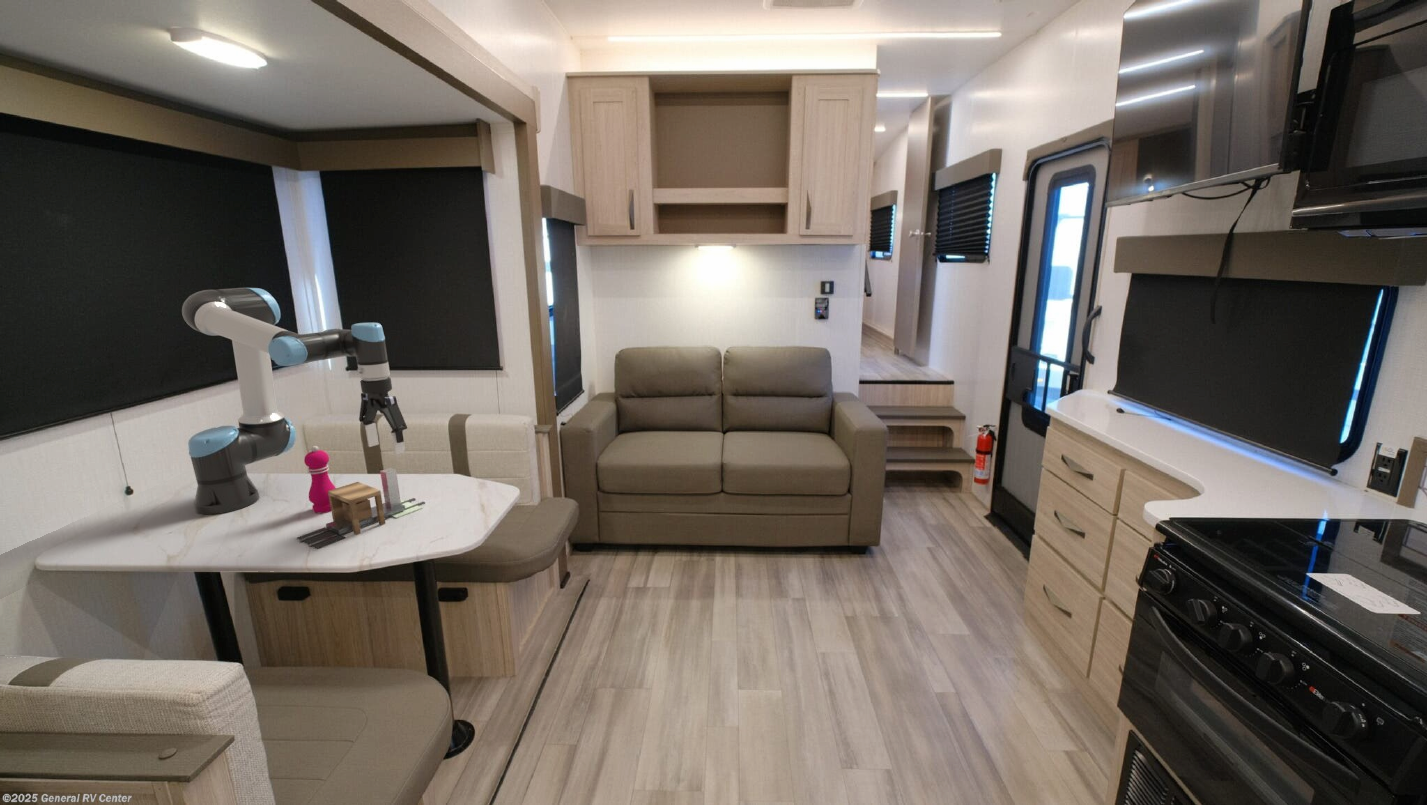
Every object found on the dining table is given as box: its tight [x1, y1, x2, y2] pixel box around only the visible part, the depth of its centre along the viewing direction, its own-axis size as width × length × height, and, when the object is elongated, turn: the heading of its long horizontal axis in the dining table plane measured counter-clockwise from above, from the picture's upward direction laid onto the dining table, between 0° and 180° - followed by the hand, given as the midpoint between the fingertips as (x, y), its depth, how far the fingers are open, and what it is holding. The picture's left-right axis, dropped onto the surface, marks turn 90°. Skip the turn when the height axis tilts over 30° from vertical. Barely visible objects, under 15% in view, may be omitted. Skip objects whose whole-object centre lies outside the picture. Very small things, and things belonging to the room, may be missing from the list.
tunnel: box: [328, 481, 386, 536], centre depth 161 cm, size 12×8×10 cm, turn 59°
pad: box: [391, 499, 423, 519], centre depth 172 cm, size 11×8×1 cm
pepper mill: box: [303, 445, 336, 514], centre depth 169 cm, size 7×7×20 cm
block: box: [342, 499, 372, 522], centre depth 161 cm, size 5×5×5 cm
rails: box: [298, 497, 426, 548], centre depth 164 cm, size 6×32×1 cm, turn 149°
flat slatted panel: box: [296, 526, 347, 550], centre depth 154 cm, size 11×7×1 cm, turn 59°
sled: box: [325, 467, 405, 534], centre depth 162 cm, size 7×18×12 cm, turn 149°
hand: (386, 449), depth 166 cm, fingers open, 13 cm apart
